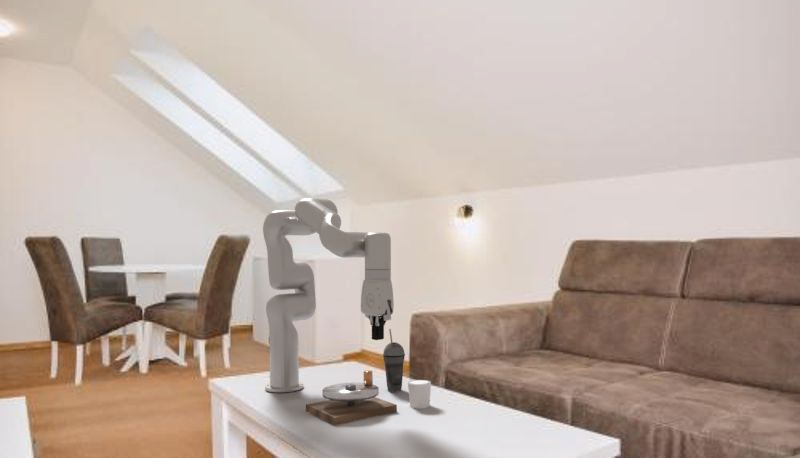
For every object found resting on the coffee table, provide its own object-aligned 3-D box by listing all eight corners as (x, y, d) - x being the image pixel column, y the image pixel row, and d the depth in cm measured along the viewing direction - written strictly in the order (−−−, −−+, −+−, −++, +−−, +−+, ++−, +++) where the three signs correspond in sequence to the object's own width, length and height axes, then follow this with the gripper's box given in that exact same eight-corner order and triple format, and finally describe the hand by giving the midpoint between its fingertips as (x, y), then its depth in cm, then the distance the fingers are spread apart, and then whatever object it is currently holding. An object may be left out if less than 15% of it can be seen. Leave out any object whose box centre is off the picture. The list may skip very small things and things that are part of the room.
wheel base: (305, 411, 165) (305, 394, 165) (364, 400, 177) (364, 384, 177) (334, 425, 151) (334, 407, 152) (396, 411, 163) (396, 395, 163)
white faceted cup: (434, 404, 171) (434, 380, 171) (426, 410, 165) (425, 385, 165) (413, 401, 174) (413, 378, 174) (404, 407, 168) (403, 383, 168)
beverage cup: (403, 393, 184) (402, 330, 185) (381, 392, 185) (380, 330, 186) (407, 388, 191) (406, 327, 192) (386, 387, 193) (385, 327, 193)
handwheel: (345, 404, 153) (345, 384, 153) (311, 394, 165) (311, 375, 165) (390, 393, 164) (389, 374, 164) (355, 384, 176) (355, 366, 176)
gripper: (351, 274, 169) (351, 337, 169) (384, 277, 158) (384, 344, 157) (372, 273, 174) (372, 334, 174) (404, 276, 163) (404, 341, 162)
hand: (377, 339), depth 166 cm, fingers closed
